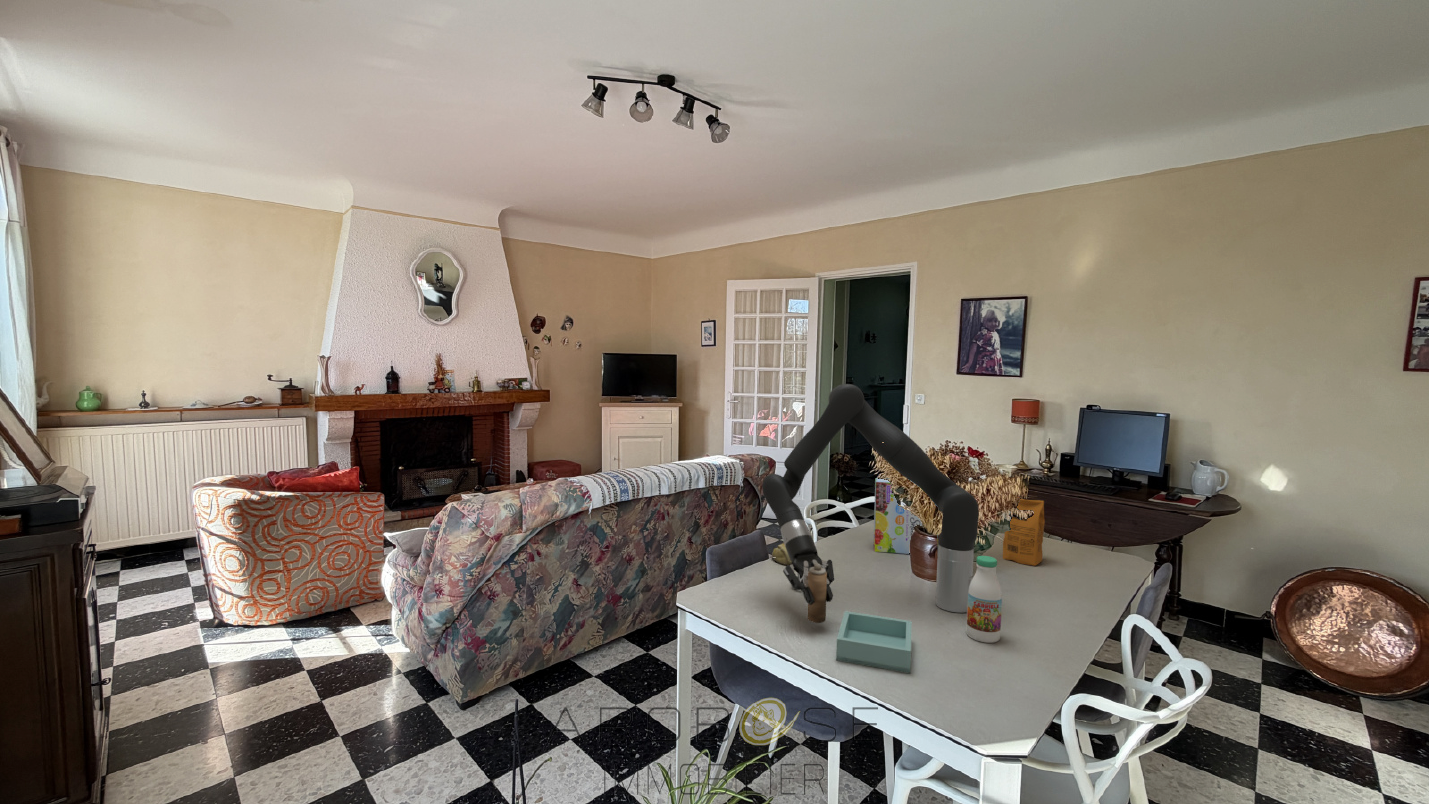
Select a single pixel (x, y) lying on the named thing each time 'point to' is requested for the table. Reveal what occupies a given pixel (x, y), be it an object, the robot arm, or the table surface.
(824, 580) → the pepper mill
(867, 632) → the bin
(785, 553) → the pastry
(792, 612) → the table surface
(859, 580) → the table surface
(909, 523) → the snack box
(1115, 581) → the table surface
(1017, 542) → the coffee package
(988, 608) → the milk bottle
